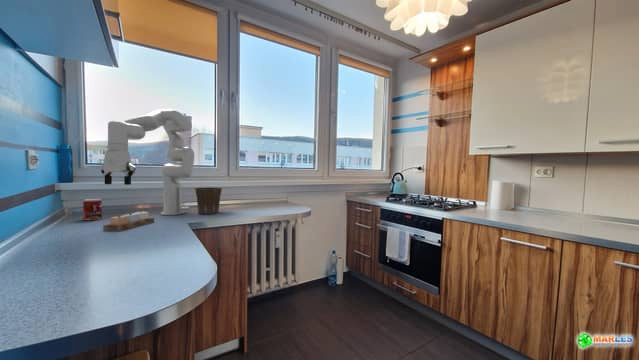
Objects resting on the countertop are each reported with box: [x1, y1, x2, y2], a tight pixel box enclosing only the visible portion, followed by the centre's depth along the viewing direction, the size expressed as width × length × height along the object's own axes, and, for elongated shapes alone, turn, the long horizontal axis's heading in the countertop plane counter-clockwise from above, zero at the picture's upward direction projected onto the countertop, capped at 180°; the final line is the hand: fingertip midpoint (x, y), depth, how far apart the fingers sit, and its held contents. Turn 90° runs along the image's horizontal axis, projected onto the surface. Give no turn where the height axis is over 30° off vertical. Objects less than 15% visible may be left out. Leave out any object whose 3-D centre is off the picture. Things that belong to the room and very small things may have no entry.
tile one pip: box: [132, 211, 149, 220], centre depth 133 cm, size 5×5×4 cm
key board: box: [102, 216, 155, 232], centre depth 126 cm, size 20×8×2 cm, turn 174°
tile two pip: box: [121, 213, 139, 222], centre depth 126 cm, size 5×5×4 cm
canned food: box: [82, 198, 103, 220], centre depth 141 cm, size 8×8×11 cm
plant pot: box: [194, 187, 223, 215], centre depth 166 cm, size 16×16×16 cm
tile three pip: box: [109, 215, 128, 225], centre depth 120 cm, size 5×5×4 cm
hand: (117, 184), depth 121 cm, fingers open, 9 cm apart
